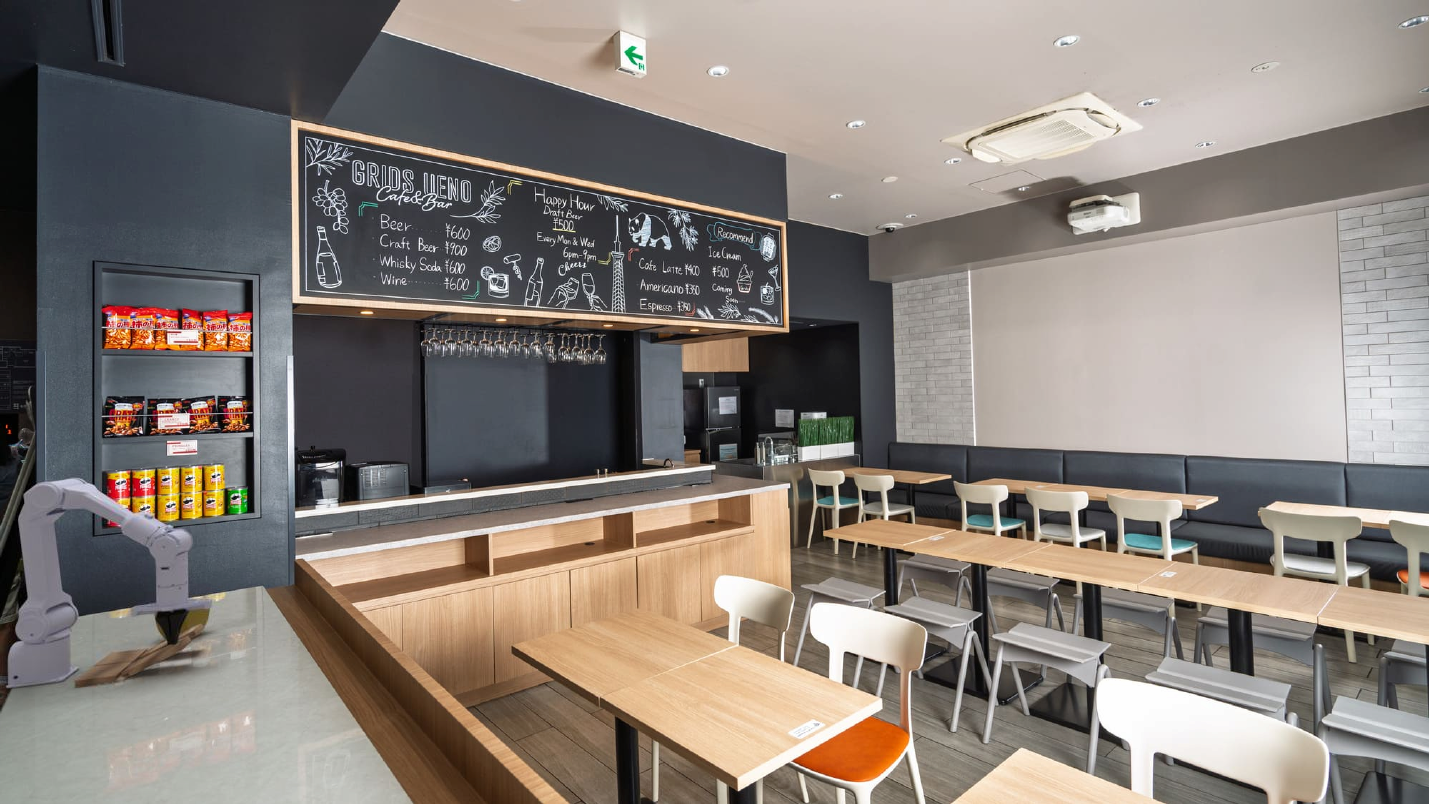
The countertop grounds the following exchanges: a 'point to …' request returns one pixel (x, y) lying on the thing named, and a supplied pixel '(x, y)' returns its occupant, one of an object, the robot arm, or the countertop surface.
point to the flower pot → (191, 620)
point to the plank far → (190, 633)
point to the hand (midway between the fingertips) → (172, 643)
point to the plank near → (156, 657)
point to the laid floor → (110, 668)
